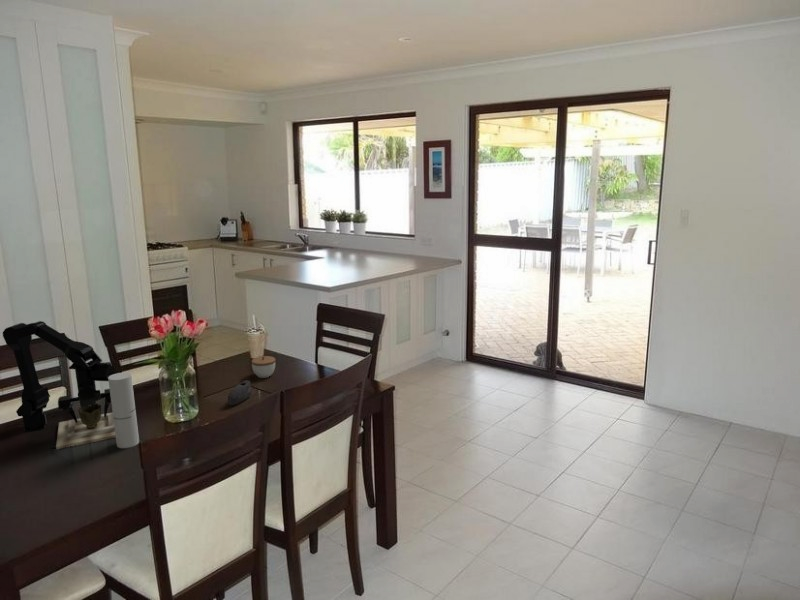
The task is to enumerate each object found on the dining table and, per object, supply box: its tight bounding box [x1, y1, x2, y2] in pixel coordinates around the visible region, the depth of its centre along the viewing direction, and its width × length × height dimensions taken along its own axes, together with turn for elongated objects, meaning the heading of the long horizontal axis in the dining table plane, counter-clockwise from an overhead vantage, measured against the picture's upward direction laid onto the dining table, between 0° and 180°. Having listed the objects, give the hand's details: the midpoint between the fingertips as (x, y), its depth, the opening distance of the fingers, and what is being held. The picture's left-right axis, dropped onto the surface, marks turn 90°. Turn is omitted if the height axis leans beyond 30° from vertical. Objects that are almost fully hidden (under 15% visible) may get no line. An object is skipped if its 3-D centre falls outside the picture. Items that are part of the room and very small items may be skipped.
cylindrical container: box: [107, 372, 140, 449], centre depth 196 cm, size 7×7×25 cm
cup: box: [77, 402, 102, 429], centre depth 208 cm, size 8×7×8 cm
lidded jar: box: [251, 355, 276, 379], centre depth 263 cm, size 11×11×9 cm
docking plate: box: [55, 412, 116, 450], centre depth 209 cm, size 22×22×2 cm
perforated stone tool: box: [227, 379, 252, 406], centre depth 234 cm, size 15×5×7 cm, turn 160°
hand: (91, 419), depth 208 cm, fingers open, 9 cm apart
